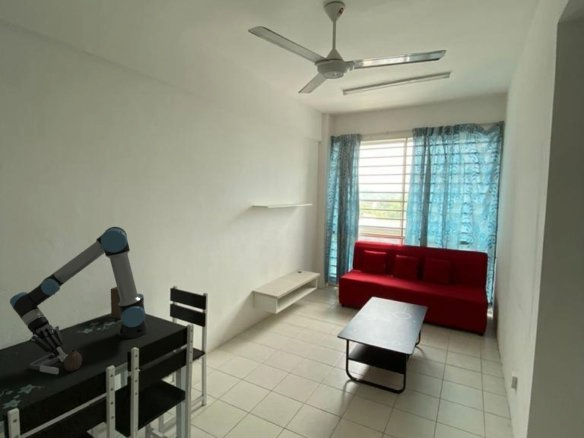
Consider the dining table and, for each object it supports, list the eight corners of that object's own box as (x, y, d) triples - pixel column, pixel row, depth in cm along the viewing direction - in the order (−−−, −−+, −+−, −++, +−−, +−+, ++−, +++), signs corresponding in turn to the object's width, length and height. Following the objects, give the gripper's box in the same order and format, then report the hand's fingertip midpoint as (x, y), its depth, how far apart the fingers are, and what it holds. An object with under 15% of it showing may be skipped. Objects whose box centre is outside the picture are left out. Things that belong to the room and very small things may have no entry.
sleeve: (39, 371, 146) (39, 366, 146) (63, 358, 158) (63, 354, 157) (57, 374, 144) (57, 369, 144) (79, 361, 155) (79, 356, 155)
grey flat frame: (28, 368, 148) (28, 364, 148) (51, 357, 159) (50, 353, 159) (40, 370, 147) (40, 366, 147) (62, 359, 157) (62, 355, 157)
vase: (79, 363, 154) (79, 345, 153) (84, 368, 149) (83, 350, 149) (62, 369, 148) (61, 351, 148) (67, 374, 144) (66, 356, 143)
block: (123, 319, 208) (123, 289, 207) (110, 318, 210) (109, 288, 209) (134, 314, 218) (133, 285, 216) (121, 312, 220) (120, 284, 218)
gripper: (45, 320, 159) (72, 357, 156) (17, 331, 146) (46, 371, 143) (53, 311, 157) (81, 348, 154) (25, 321, 145) (55, 362, 142)
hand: (64, 359), depth 149 cm, fingers closed
